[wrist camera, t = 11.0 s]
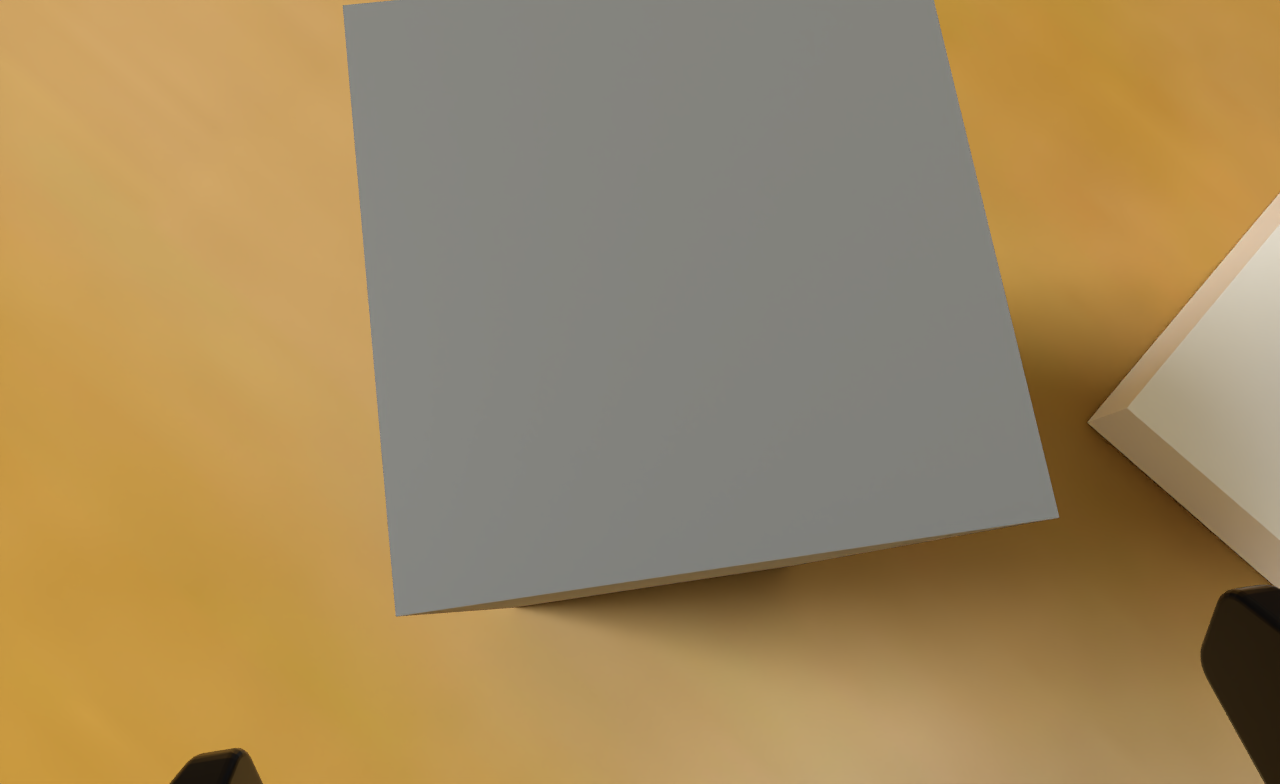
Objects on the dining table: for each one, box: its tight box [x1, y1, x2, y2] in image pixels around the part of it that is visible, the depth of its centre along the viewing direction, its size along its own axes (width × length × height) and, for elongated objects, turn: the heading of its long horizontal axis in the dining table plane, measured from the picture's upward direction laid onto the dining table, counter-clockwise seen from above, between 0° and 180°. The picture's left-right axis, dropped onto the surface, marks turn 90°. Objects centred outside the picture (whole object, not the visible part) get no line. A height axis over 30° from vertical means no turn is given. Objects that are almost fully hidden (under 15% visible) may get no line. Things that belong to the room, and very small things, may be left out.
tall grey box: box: [343, 0, 1059, 616], centre depth 14 cm, size 6×6×11 cm
